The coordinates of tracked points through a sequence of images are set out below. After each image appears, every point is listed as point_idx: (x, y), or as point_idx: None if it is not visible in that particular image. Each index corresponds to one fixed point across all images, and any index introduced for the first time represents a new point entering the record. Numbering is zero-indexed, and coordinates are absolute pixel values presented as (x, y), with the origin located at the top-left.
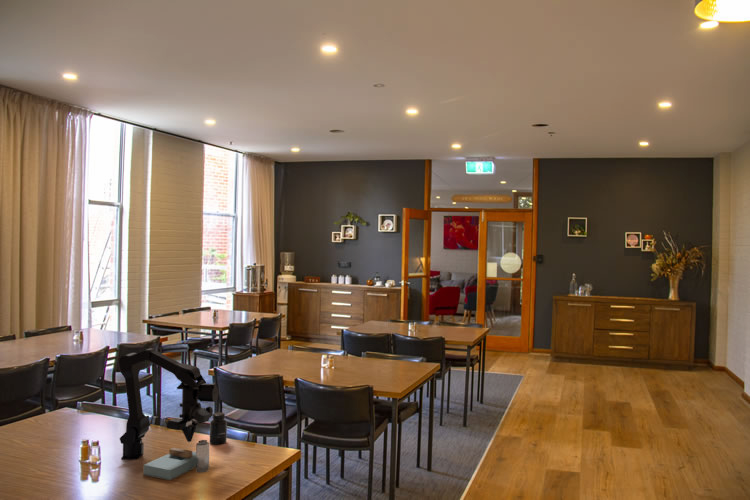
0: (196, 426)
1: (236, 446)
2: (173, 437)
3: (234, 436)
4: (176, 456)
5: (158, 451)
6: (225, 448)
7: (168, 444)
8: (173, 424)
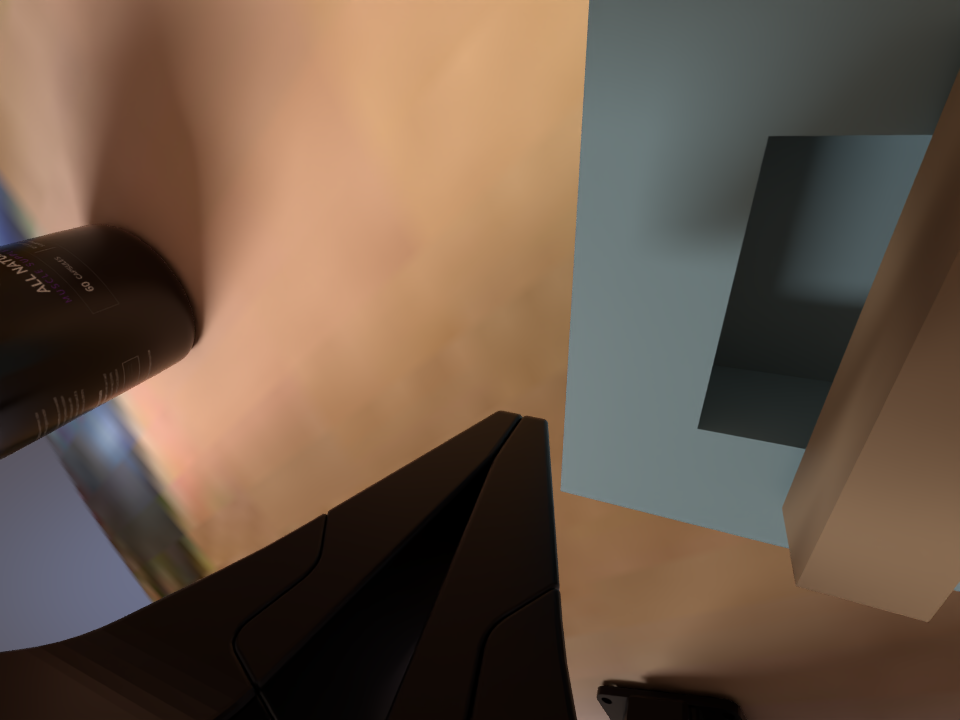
0: (64, 653)
1: (43, 39)
2: None
3: None
4: (789, 422)
5: None
6: (146, 119)
7: None
8: None
